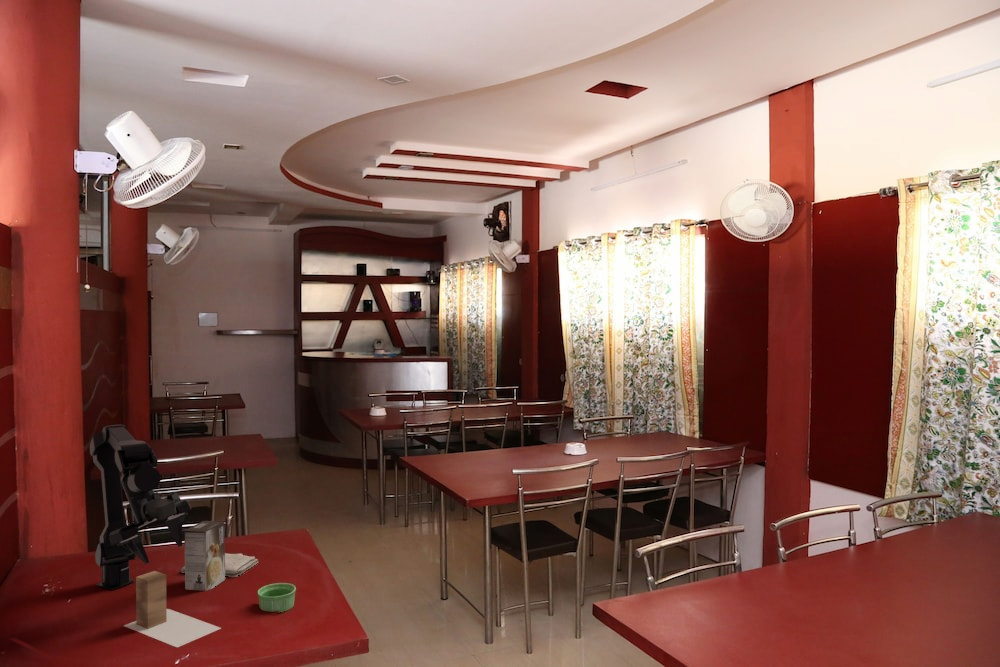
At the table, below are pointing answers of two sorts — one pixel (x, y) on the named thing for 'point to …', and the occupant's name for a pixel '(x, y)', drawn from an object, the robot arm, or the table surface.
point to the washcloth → (236, 564)
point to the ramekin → (276, 597)
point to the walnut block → (151, 599)
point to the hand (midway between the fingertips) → (164, 554)
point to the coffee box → (204, 555)
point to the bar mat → (176, 629)
